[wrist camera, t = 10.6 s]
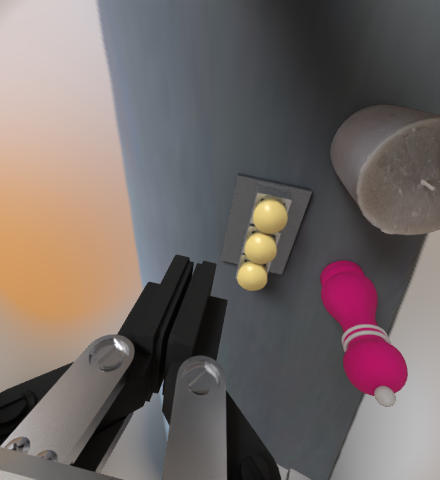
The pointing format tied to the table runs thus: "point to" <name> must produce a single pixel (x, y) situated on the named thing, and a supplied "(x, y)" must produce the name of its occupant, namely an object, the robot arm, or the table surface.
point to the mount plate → (243, 226)
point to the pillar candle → (391, 167)
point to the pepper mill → (362, 332)
